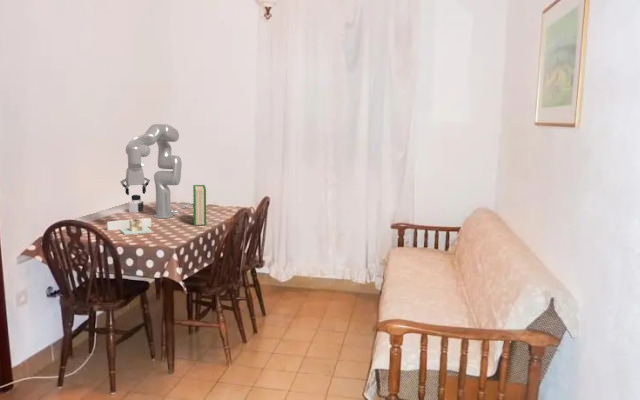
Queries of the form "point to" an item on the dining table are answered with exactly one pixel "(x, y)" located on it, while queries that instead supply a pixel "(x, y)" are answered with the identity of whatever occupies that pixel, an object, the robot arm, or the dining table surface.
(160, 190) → the robot arm
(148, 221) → the off-white screen
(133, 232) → the sage mat
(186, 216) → the dining table surface
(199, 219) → the hardback book
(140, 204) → the medicine bottle
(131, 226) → the maple letter block
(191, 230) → the dining table surface
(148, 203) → the dining table surface
